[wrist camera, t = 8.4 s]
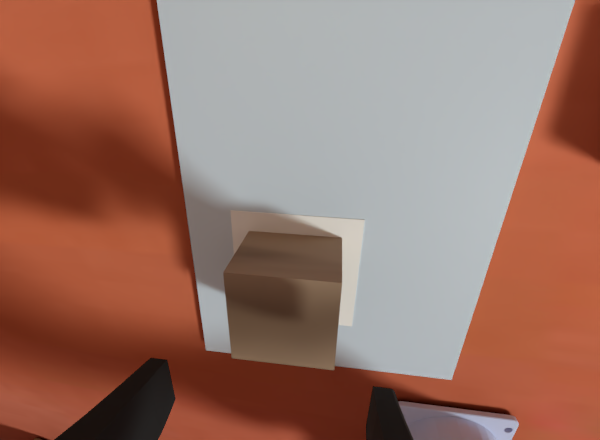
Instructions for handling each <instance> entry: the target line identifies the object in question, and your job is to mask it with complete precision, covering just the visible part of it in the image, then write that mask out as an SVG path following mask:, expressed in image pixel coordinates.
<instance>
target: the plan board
mask: <svg viewBox="0 0 600 440" xmlns="http://www.w3.org/2000/svg"><path fill="white" fill-rule="evenodd" d="M574 2H575V0H157V6H158V14H159V21H160V28H161V35H162V42H163V49H164V56H165V63H166V70H167V77H168V85H169V92H170V99H171V106H172V113H173V120H174V127H175V134H176V141H177V148H178V156H179V163H180V170H181V177H182V184H183V191H184V198H185V205H186V212H187V219H188V227H189V234H190V241H191V248H192V255H193V262H194V269H195V276H196V283H197V290H198V298H199V305H200V312H201V319H202V326H203V333H204V340H205V347H206V351H215V352H223V353H231V346H230V336H229V326H228V316H227V307H226V297H225V287H224V277H223V272H224V270H225V269H226V267H227V265H228V264H229V262H230V261H231V259H232V257H233V256H234V254H235V252H236V251H237V249H238V248H239V246H240V244H241V243H242V241H243V240H244V238H245V236H246V235H247V233H248V232H249V231H258V232H271V233H285V234H299V235H312V236H326V237H339V238H342V290H341V301H340V312H339V323H338V334H337V345H336V356H335V366H340V367H348V368H356V369H365V370H373V371H382V372H390V373H398V374H407V375H415V376H423V377H432V378H440V379H448V380H452V377H453V374H454V371H455V368H456V365H457V362H458V358H459V355H460V352H461V349H462V346H463V343H464V340H465V337H466V334H467V331H468V328H469V325H470V322H471V319H472V315H473V312H474V309H475V306H476V303H477V300H478V297H479V294H480V291H481V288H482V285H483V282H484V279H485V276H486V272H487V269H488V266H489V263H490V260H491V257H492V254H493V251H494V248H495V245H496V242H497V239H498V236H499V233H500V229H501V226H502V223H503V220H504V217H505V214H506V211H507V208H508V205H509V202H510V199H511V196H512V193H513V190H514V186H515V183H516V180H517V177H518V174H519V171H520V168H521V165H522V162H523V159H524V156H525V153H526V150H527V146H528V143H529V140H530V137H531V134H532V131H533V128H534V125H535V122H536V119H537V116H538V113H539V110H540V107H541V103H542V100H543V97H544V94H545V91H546V88H547V85H548V82H549V79H550V76H551V73H552V70H553V67H554V64H555V60H556V57H557V54H558V51H559V48H560V45H561V42H562V39H563V36H564V33H565V30H566V27H567V24H568V21H569V17H570V14H571V11H572V8H573V5H574Z"/></svg>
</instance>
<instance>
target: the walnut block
mask: <svg viewBox="0 0 600 440" xmlns="http://www.w3.org/2000/svg"><path fill="white" fill-rule="evenodd" d="M223 277H224V287H225V297H226V307H227V316H228V326H229V336H230V346H231V356H232V358H234V359H242V360H251V361H259V362H268V363H276V364H284V365H293V366H301V367H310V368H318V369H327V370H334V367H335V356H336V345H337V334H338V323H339V312H340V301H341V290H342V238H339V237H326V236H312V235H299V234H285V233H271V232H258V231H249V232H248V233H247V235H246V236H245V238H244V240H243V241H242V243H241V244H240V246H239V248H238V249H237V251H236V252H235V254H234V256H233V257H232V259H231V261H230V262H229V264H228V265H227V267H226V269H225V270H224V272H223Z"/></svg>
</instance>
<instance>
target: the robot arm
mask: <svg viewBox="0 0 600 440" xmlns="http://www.w3.org/2000/svg"><path fill="white" fill-rule="evenodd" d="M174 401H175V395H174V390H173V385H172V381H171V376H170V371H169V367H168V362H167V360H163V359H155V358H150V359H149V360H148V361H147V362H146V363H145V364H143V365H142V366H141V367H140V368H139V369H138V370H137V371H135V372H134V373H133V374H132V375H131V376H130V377H129V378H127V379H126V380H125V381H124V382H123V383H122V384H121V385H119V386H118V387H117V388H116V389H115V390H114V391H113V392H111V393H110V394H109V395H108V396H107V397H106V398H105V399H103V400H102V401H101V402H100V403H99V404H97V405H96V406H95V407H94V408H93V409H92V410H90V411H89V412H88V413H87V414H86V415H84V416H83V417H82V418H81V419H80V420H78V421H77V422H76V423H75V424H73V425H72V426H71V427H70V428H68V429H67V430H66V431H65V432H63V433H62V434H61V435H60V436H58V437H57V438H56V439H55V440H158V438H159V436H160V434H161V433H162V430H163V428H164V426H165V423H166V421H167V419H168V416H169V414H170V411H171V409H172V406H173V404H174ZM518 426H519V423H518V421H517V419H516V418H515V417H514V416H512V415H506V414H498V413H490V412H482V411H475V410H467V409H459V408H451V407H444V406H436V405H428V404H420V403H412V402H405V401H398V400H397V397H396V394H395V392H394V391H393V390H392V389H389V388H381V387H373V389H372V395H371V401H370V406H369V412H368V418H367V424H366V440H512V438H513V436H514V434H515V432H516V430H517V428H518Z"/></svg>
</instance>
